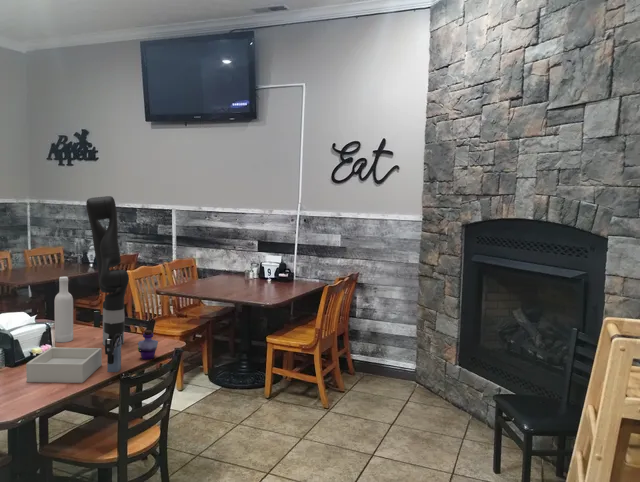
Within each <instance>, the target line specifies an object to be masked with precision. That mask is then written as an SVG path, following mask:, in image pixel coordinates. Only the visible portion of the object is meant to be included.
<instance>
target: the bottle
mask: <svg viewBox="0 0 640 482" xmlns="http://www.w3.org/2000/svg"><path fill="white" fill-rule="evenodd" d="M58 282H59V283H58V284H59V285H58V286H59V287H58V289H59V291H58V293H57V294H56V295H55V297H54V342H56V343H68V342H72V341H73V340H74V298H73V295H72V294H71V293H70V292H69V277H68V276H59V279H58Z"/></svg>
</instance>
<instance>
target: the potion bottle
mask: <svg viewBox="0 0 640 482" xmlns="http://www.w3.org/2000/svg"><path fill="white" fill-rule="evenodd" d="M153 337H154V333H153V331H152V330H150V329H146V330H144V332H143V333H142V338H144V339H142V340H139V341H138V343H137V350H138V353H140V357H141V359H140V360H144V361H152V360H154V359H155V354H156V351H157V348H158V345H159V344H158V343H159V341H158V340H156V339H153Z"/></svg>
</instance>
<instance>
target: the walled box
mask: <svg viewBox="0 0 640 482" xmlns="http://www.w3.org/2000/svg"><path fill="white" fill-rule="evenodd" d="M102 349H103V348H101V347H50V348H48V349H46V350H45V351H43V352H42V353H40V354H39V355H37V356H35V357H33V359H31V360H29V361H28V362H27V363H26V364H25V368H26V383H72V384H73V383H74V384H75V383H76V384H82V383H84V382H85V381H86V380H87V379H88V378H89V377H91V375H93V374H94V373H95V372H96V371H97V370H98V369H99V368H100V367H102V365H103V364H102V361H103V358H102V354H103V353H102Z"/></svg>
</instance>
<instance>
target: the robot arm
mask: <svg viewBox="0 0 640 482" xmlns="http://www.w3.org/2000/svg"><path fill="white" fill-rule="evenodd" d="M85 205H86V212H87V217H88V220H89V225H90V230H91V235H92V236H91V237H92V245H93V250H94V254H95V259H96V265H97V275H98V287H99V290H100V292H102V293H106V295H105V296H104V301H102V345H103V346H104V355H108V364H113V363H114V351H115V349H116V347H117V345H118V344H121V348H122V346H123V345H124V343H125V319H126V318H125V317H126V316H125V295H126V290H127V288H128V284H129V281H130V276H129V273H128V272H127V271H126V270H125V269H110V268H113V267H117V266H118V265H120V264H121V261H122V259H121V252H120V247H119V237H118V236H119V233H118V232H119V231H118V230H119V229H118V213H117V205H116V201H115V198H114V197H113V196H110V195H109V196H108V195H107V196H98V197H97V196H96V197H90V198H89V197H88V199H87V200H86V201H85ZM107 219H108V220H109V221H108V222H109V223H108V225H107V229H106V228H104V227H103V225H102V224H101V222H100V220H107ZM109 350H110V351H109Z"/></svg>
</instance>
